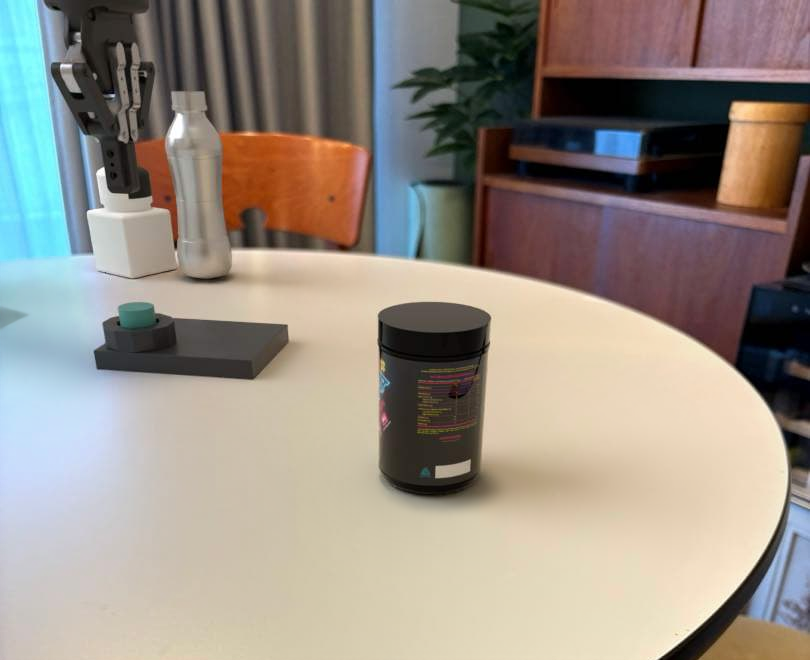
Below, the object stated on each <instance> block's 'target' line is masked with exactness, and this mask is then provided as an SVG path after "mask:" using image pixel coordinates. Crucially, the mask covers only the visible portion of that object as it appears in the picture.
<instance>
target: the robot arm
mask: <svg viewBox="0 0 810 660" xmlns="http://www.w3.org/2000/svg"><path fill="white" fill-rule="evenodd" d="M42 2H43V3H44V5H45V7H46V8H48V10H50V11H54V12H61V13H62V14H63V42H64V46H65V48H66V50H67V52H66V54H65V57H64V60H63V61H61V62H60V61H52V62H51V63H50V74H51V77H52V79H53V81H54V83H55V85H56V86H57V88H58V90H59V92H60V94H61V95H62V98H63V100H64V101H65V103H66V105H67V107H68V109H69V110H70V111H69V112H71V114H72V116H73V118H74V120H75V122H76V124H77V125H78V127H79V129H80V131H81V132H82V134H83V135H84V136H88V137H89V136H90V137H93V138H94V141H95V142H96V143H99V144H100V149H101V155H102V163H103V167H104V169H105V176H106V183H107V188H108V190H109V191H110V192H111V193H116V194H130V193H134V192H137V191H138V190H139V189H140V182H139V174H138V167H137V166H138V160H137V152H136V145H135V142H137V141H138V139H139V132H140V131H141V132H145V131H146V130H147V127H148V119H149V114H150V108H151V102H152V101H151V100H152V95H153V89H154V83H155V77H156V67H155V64H154V62H153V61H145V60H144V61H143V60H142V59H141V57H140V51H139V39H138V35H137V33H136V30H135V26H134V22H133V15H140V14H141V15H143V14H146V13H147V12H148V11H149V9H150V0H43V1H42ZM109 95H114V96H109Z"/></svg>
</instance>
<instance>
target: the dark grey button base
mask: <svg viewBox="0 0 810 660" xmlns="http://www.w3.org/2000/svg"><path fill="white" fill-rule="evenodd" d="M155 316H156V323H157V324H156V325H152V326H148V327H140V328H128V327H121V325H120V319H119V315H116V316H112V317H109V318H108V319H106V320H104V321H102V323H101V324H102V325H101V326H102V330H103V337H104V343H102V345H100V346H98V347H97V348H95V349H94V350H93V356H94V357H93V358H94V362H95V368H96V370H101V371H118V372H130V373H131V372H133V373H146V374H147V373H148V374H163V375H177V376H190V377H191V376H192V377H205V378H206V377H207V378H219V379H220V378H221V379H235V380H236V379H237V380H251V381H252V380H254V379H255V378H256V377H257V376H258V375H259V374H260V373H261V371H263V370H264V368H266V367H267V366H268V364H269V363H271V362H272V360H274V358H275V357H276V356H277V355H278V354H279V353H280V352H281V351H282V350H283V348H285V346H286V345H287V344H288V343H289V342H290V339H289V324H286V323H269V322H253V321H251V322H250V321H237V320H236V321H233V320H216V319H201V318H200V319H198V318H182V317H172V316H170V315H167V314H164V313H159V312H155Z"/></svg>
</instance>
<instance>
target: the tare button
mask: <svg viewBox="0 0 810 660" xmlns="http://www.w3.org/2000/svg"><path fill="white" fill-rule="evenodd" d="M117 312H118V316H119V319H120V325H121V327H128V328H140V327H148V326H152V325H156V324H157V323H156V316H155V313H156V309H155V305H154V303H151V302H146V301H132V302H126V303H122V304H120V305H119V306H118V307H117Z"/></svg>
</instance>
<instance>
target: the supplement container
mask: <svg viewBox="0 0 810 660" xmlns="http://www.w3.org/2000/svg"><path fill="white" fill-rule="evenodd" d="M491 329H492V316H491V314H490V313H488V312H487V311H486V310H483V309H481V308H479V307H475V306H473V305H468V304H463V303H457V302H447V301H415V302H413V301H412V302H406V303H405V302H404V303H399V304H395V305H391V306H388V307H386V308H383V309H381V310H380V311H379V312H378V313H377V340H376V342H377V347H378V349H377V350H378V353H377V354H378V356H377V357H378V359H377V360H378V469H379V472H380V474H381V476H382V477H383V479H384V480H385V481H386V482H387V483H388V484H389V483H390V484H389V485H390V486H392V487H394V486H395V487H396V488H395V487H394V488H395V489H397V488H398V489H397V490H400V491H402V490H404V491H403V492H405V491H408V492H407V493H409V492H412V493H411V494H414V493H417V494H416V495H421V494H443V495H447V494H446V493H450V494H452V493H451V492H454V493H457V492H456V491H458V490H460V491H463V490H465V489H466V487H467V488H469V487H470V486H471V485H473V483H474V482H475V481H476V480H477V479H478V477H479V475H480V474H481V471H482V459H483V458H482V457H483V444H484V442H483V441H484V429H485V428H484V427H485V414H486V413H485V412H486V398H487V397H486V395H487V382H488V365H489V350H490V347H491ZM469 485H470V486H469ZM464 488H465V489H464ZM462 489H463V490H462ZM458 492H459V491H458Z"/></svg>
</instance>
